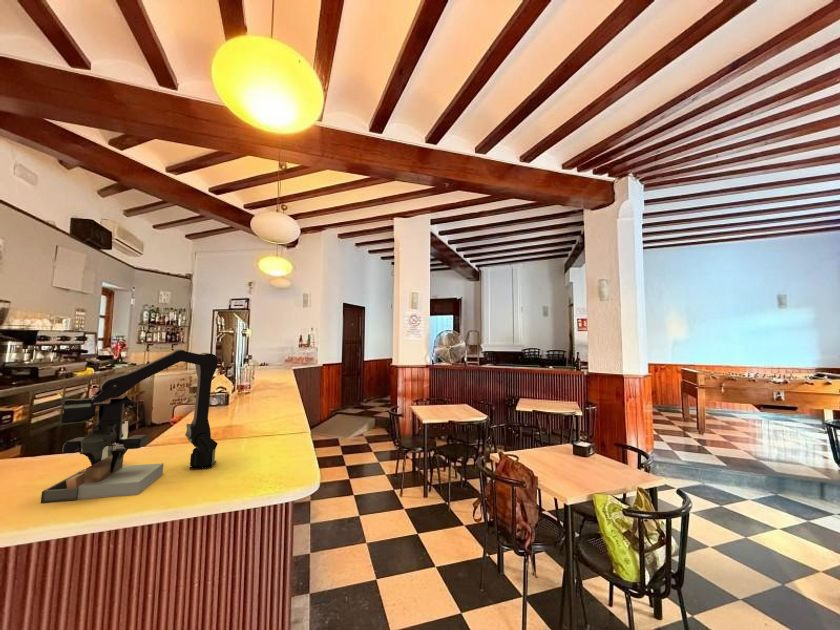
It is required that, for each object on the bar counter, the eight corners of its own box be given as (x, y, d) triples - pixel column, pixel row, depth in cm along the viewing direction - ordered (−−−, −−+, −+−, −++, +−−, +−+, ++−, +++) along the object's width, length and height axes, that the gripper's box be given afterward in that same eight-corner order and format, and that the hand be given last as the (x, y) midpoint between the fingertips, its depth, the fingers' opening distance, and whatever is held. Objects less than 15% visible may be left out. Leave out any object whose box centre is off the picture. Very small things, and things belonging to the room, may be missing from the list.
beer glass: (107, 472, 109) (112, 426, 111) (91, 470, 111) (96, 424, 112) (129, 465, 116) (134, 421, 117) (114, 463, 118) (118, 420, 119)
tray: (112, 476, 106) (113, 467, 106) (75, 500, 91) (77, 488, 91) (83, 478, 104) (84, 469, 104) (40, 503, 89) (41, 491, 89)
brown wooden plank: (122, 467, 105) (123, 454, 105) (99, 482, 94) (100, 467, 95) (109, 468, 104) (110, 455, 104) (84, 483, 93) (85, 468, 94)
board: (162, 474, 109) (163, 463, 110) (137, 494, 95) (139, 481, 95) (111, 477, 106) (112, 466, 106) (77, 499, 91) (78, 486, 92)
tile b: (85, 472, 97) (76, 474, 97) (75, 478, 93) (66, 480, 93) (86, 486, 97) (77, 488, 96) (76, 492, 93) (67, 494, 93)
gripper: (50, 427, 90) (43, 486, 89) (132, 424, 95) (126, 480, 94) (79, 418, 101) (73, 471, 100) (151, 416, 106) (146, 466, 105)
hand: (104, 472), depth 99 cm, fingers closed on brown wooden plank, 3 cm apart
